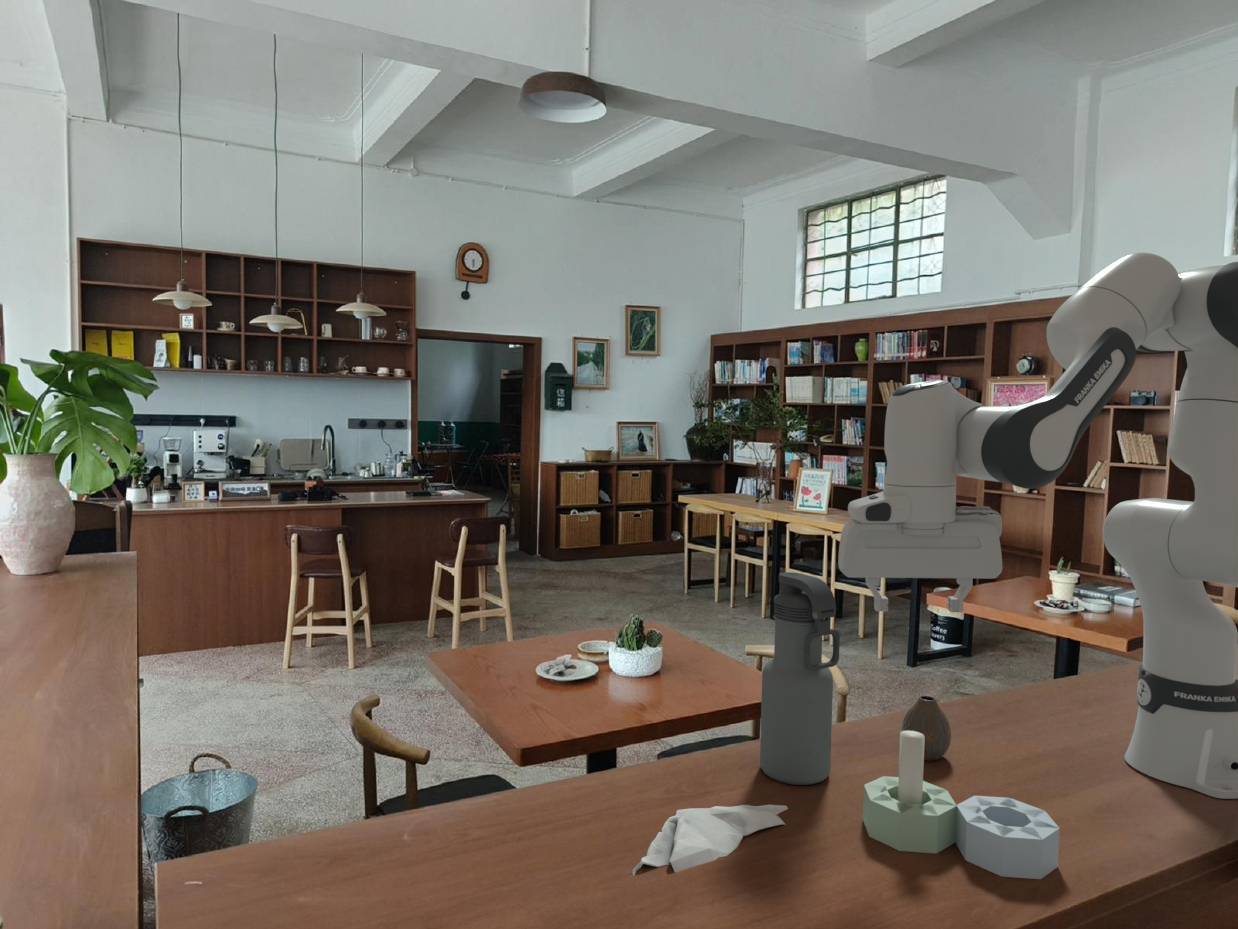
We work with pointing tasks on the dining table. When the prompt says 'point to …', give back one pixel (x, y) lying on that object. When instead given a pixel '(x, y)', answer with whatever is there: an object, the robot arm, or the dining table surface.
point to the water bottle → (799, 684)
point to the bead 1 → (909, 817)
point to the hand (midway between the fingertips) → (917, 611)
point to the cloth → (707, 834)
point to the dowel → (911, 767)
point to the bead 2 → (1007, 837)
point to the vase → (929, 726)
